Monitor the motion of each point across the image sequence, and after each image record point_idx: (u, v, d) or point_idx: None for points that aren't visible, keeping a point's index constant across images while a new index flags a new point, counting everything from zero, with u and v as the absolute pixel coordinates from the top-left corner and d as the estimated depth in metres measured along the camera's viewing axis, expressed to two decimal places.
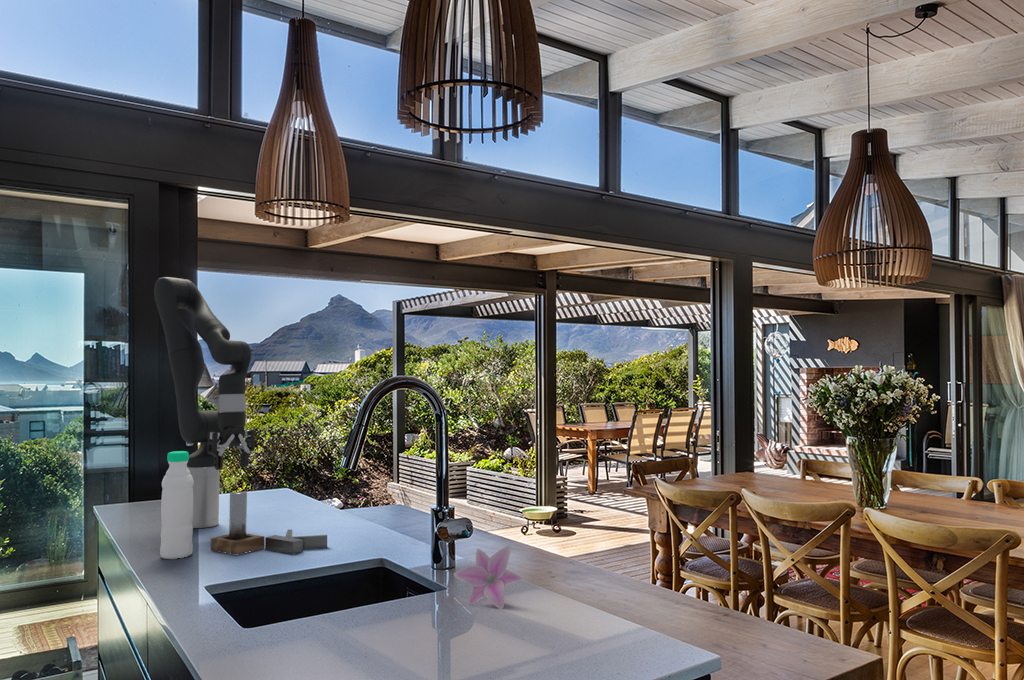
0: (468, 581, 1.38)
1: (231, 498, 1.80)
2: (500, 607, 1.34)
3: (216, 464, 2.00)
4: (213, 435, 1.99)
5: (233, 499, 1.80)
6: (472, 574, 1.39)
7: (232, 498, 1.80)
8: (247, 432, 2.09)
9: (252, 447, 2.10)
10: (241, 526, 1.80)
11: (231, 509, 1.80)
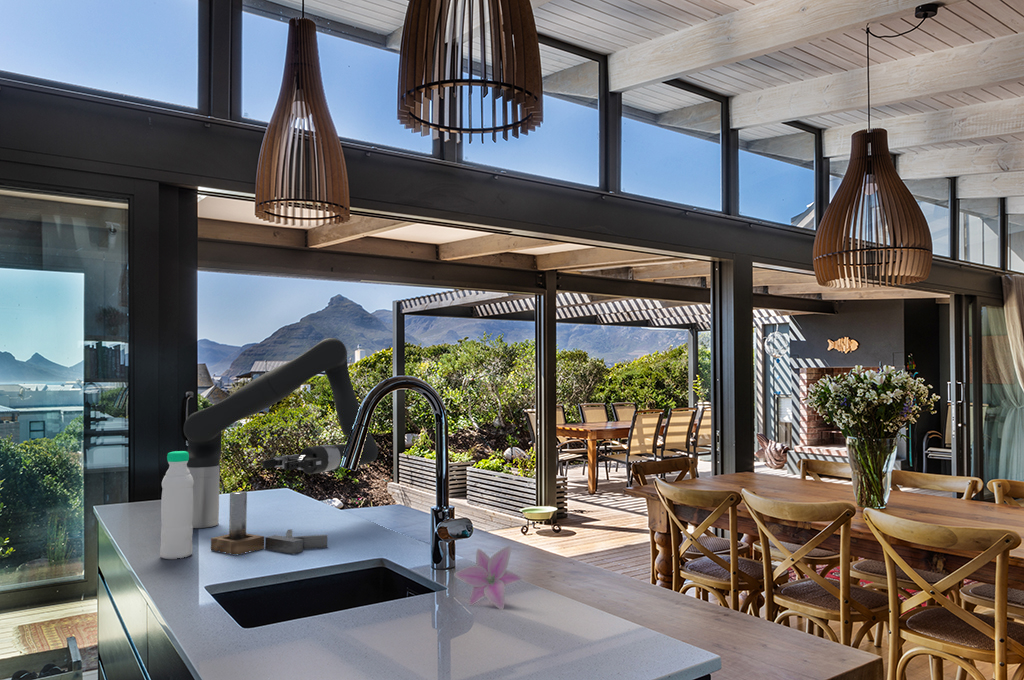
0: (468, 582, 1.38)
1: (231, 498, 1.80)
2: (500, 607, 1.34)
3: (292, 466, 1.90)
4: (319, 466, 1.96)
5: (233, 499, 1.80)
6: (472, 575, 1.39)
7: (232, 498, 1.80)
8: None
9: None
10: (241, 526, 1.80)
11: (231, 509, 1.80)
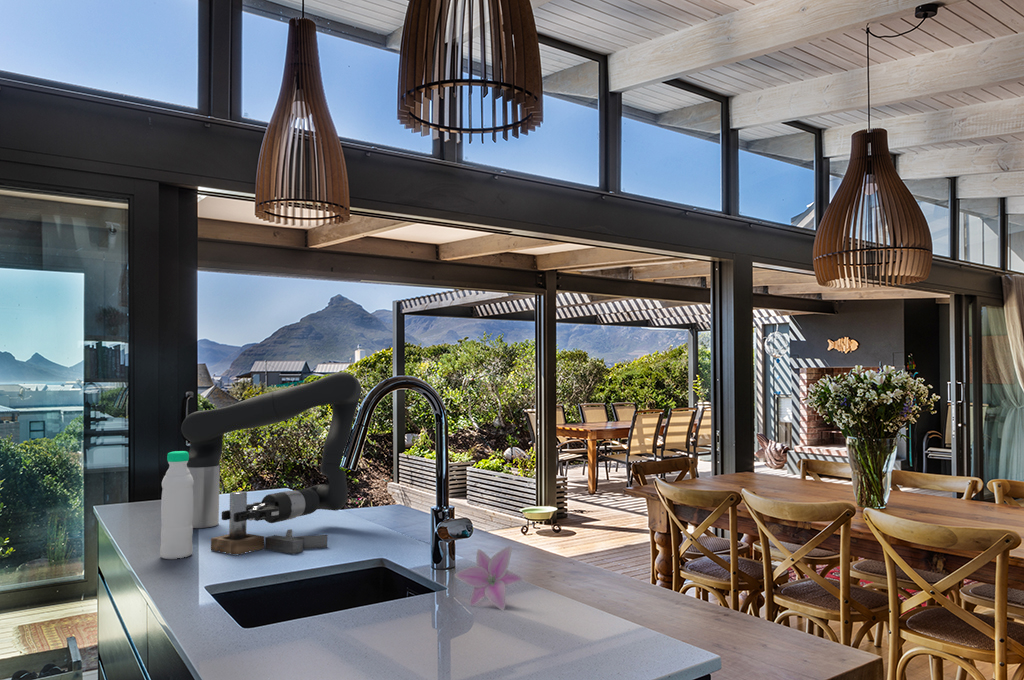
0: (469, 582, 1.37)
1: (231, 498, 1.80)
2: (501, 607, 1.33)
3: (242, 518, 1.78)
4: (275, 517, 1.83)
5: (233, 499, 1.80)
6: (472, 575, 1.38)
7: (232, 498, 1.80)
8: (248, 510, 1.90)
9: None
10: (241, 526, 1.80)
11: (231, 509, 1.80)
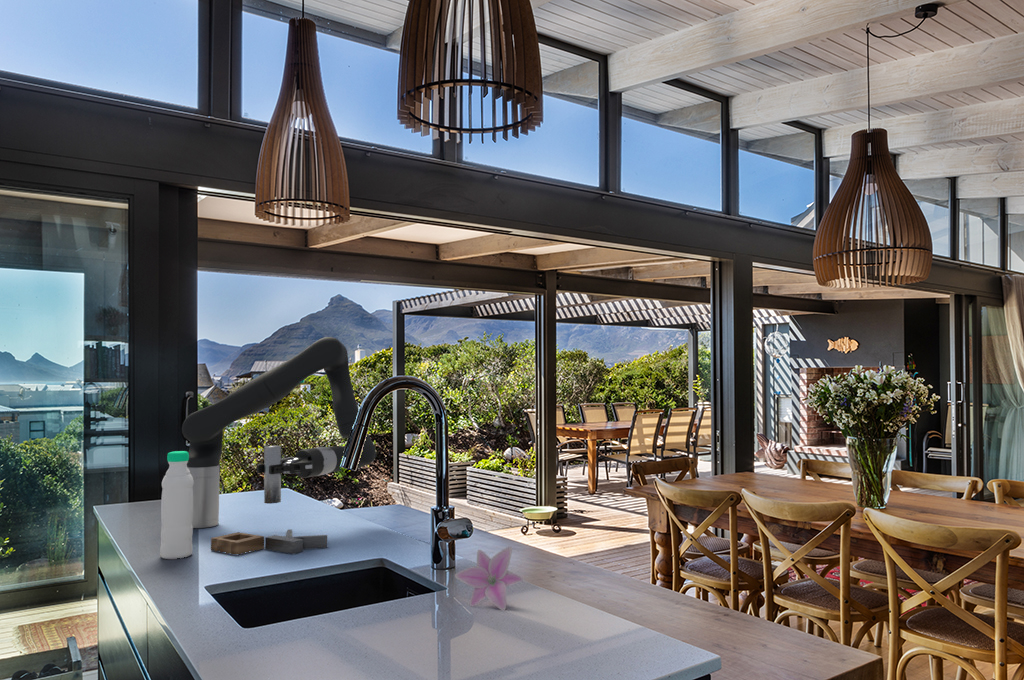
0: (469, 583, 1.37)
1: (266, 451, 1.82)
2: (502, 608, 1.33)
3: (277, 470, 1.81)
4: (309, 470, 1.86)
5: (267, 452, 1.82)
6: (473, 576, 1.38)
7: (266, 451, 1.82)
8: None
9: None
10: (276, 478, 1.82)
11: (266, 462, 1.82)
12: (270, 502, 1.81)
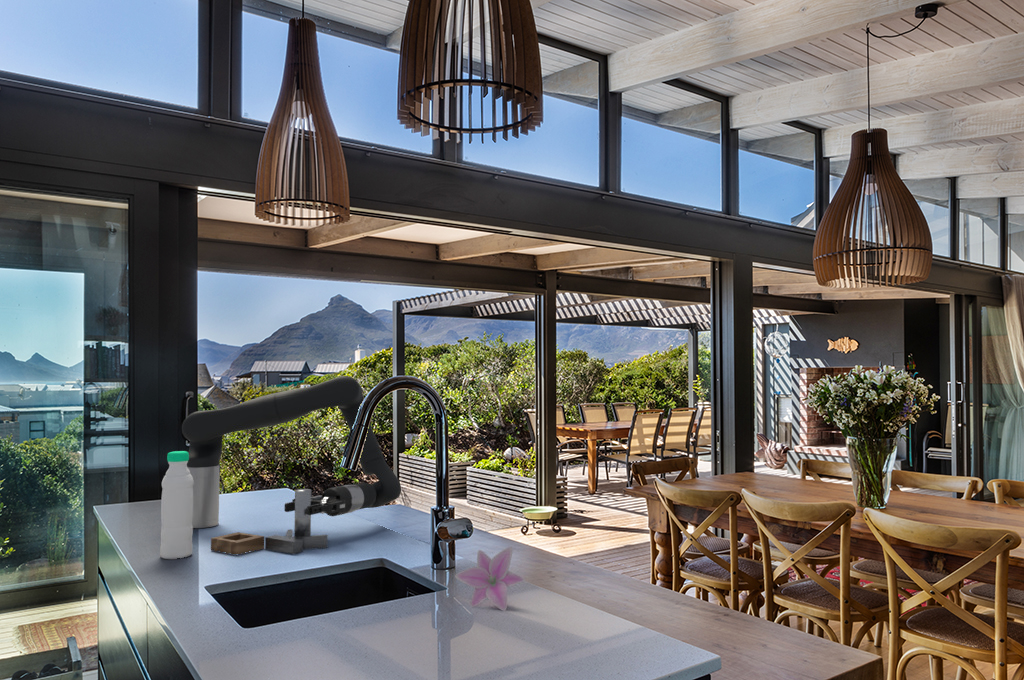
0: (470, 583, 1.37)
1: (297, 495, 1.84)
2: (503, 608, 1.33)
3: (315, 511, 1.82)
4: (343, 509, 1.88)
5: (298, 496, 1.83)
6: (473, 576, 1.38)
7: (297, 495, 1.83)
8: None
9: None
10: (306, 522, 1.84)
11: (297, 506, 1.83)
12: None
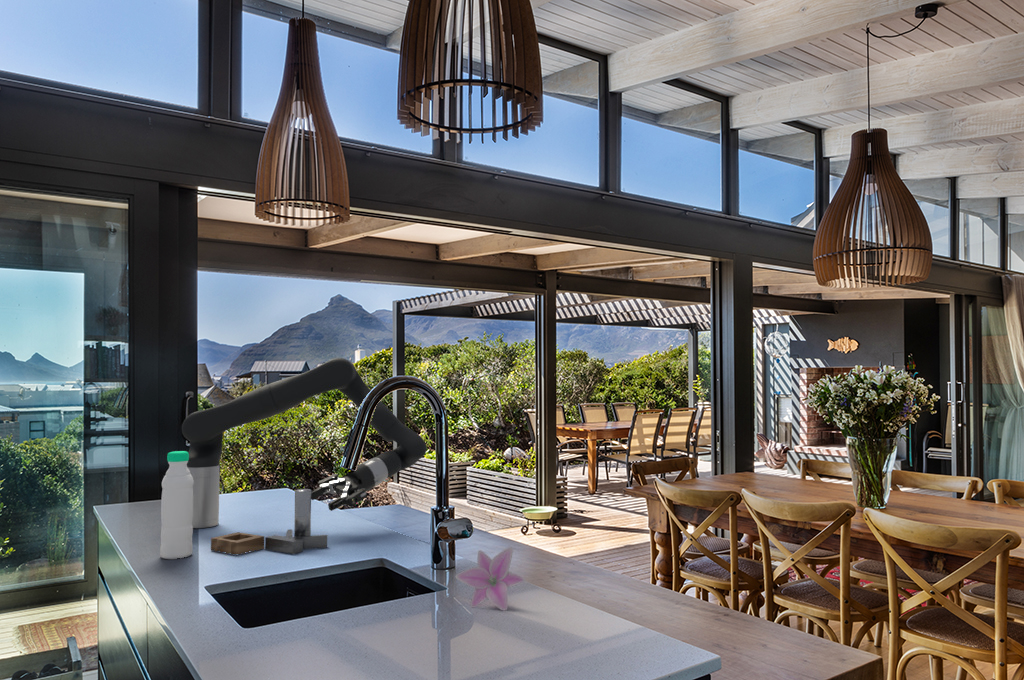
0: (470, 583, 1.37)
1: (296, 495, 1.84)
2: (503, 609, 1.33)
3: (336, 506, 1.91)
4: (364, 497, 1.96)
5: (298, 496, 1.83)
6: (474, 576, 1.38)
7: (297, 495, 1.83)
8: None
9: None
10: (306, 522, 1.84)
11: (296, 506, 1.83)
12: None
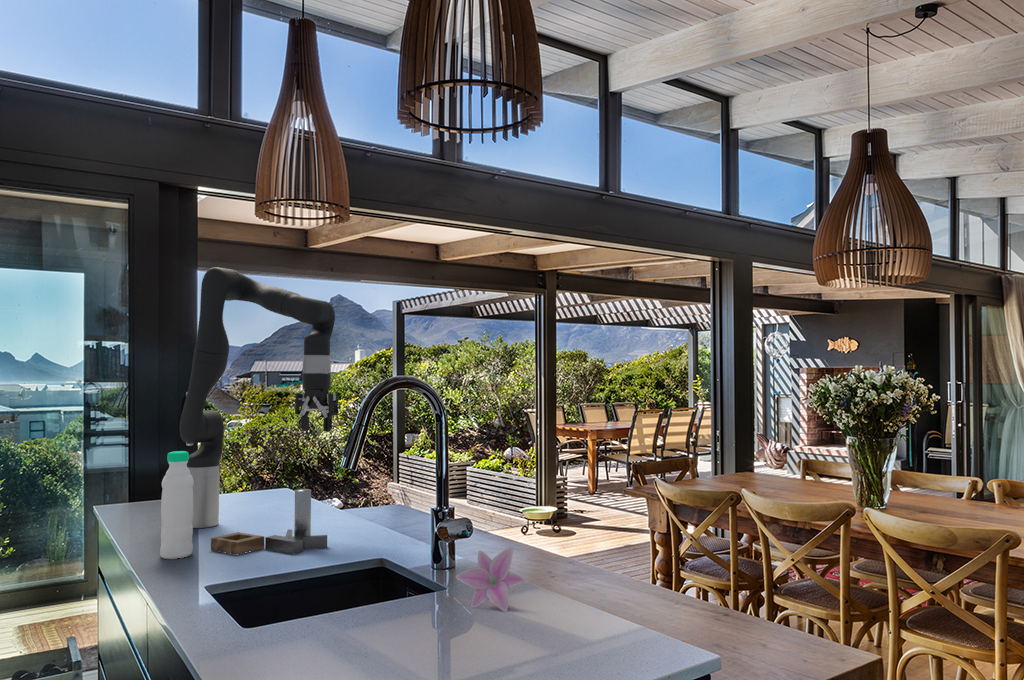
0: (471, 584, 1.36)
1: (296, 495, 1.84)
2: (504, 609, 1.32)
3: (330, 426, 1.97)
4: (337, 396, 1.97)
5: (298, 496, 1.83)
6: (474, 577, 1.37)
7: (297, 495, 1.84)
8: None
9: None
10: (306, 522, 1.84)
11: (296, 506, 1.83)
12: None
